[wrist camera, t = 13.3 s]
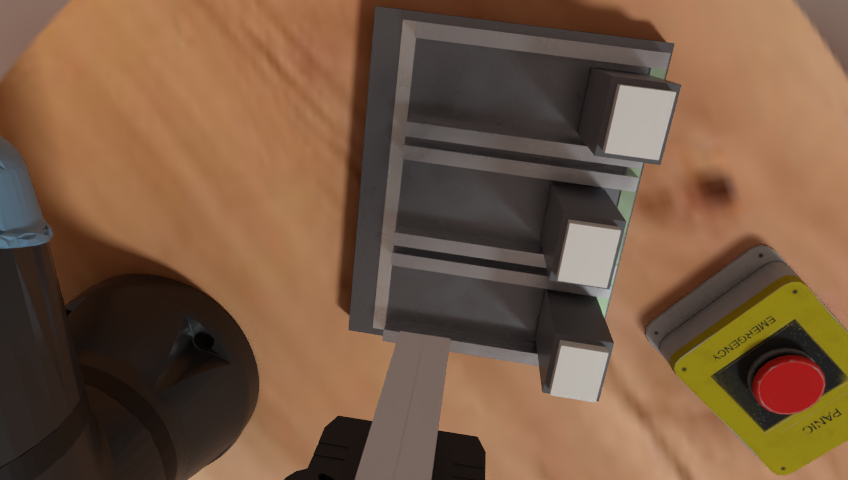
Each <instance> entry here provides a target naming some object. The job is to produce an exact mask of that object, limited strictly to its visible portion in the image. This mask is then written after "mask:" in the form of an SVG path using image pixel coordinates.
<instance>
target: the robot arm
mask: <svg viewBox="0 0 848 480" xmlns="http://www.w3.org/2000/svg"><path fill="white" fill-rule="evenodd" d="M52 237H53V233H52V228H51V226H50V224H48V223H47V222H46V221H45V220H44V218H43V215H42V212H41V209H40V206H39V203H38V200H37V196H36V193H35V190H34V187H33V184H32V181H31V178H30V174H29V171H28V168H27V165H26V163H25V161H24V159H23V157H22V155H21V154H20V152H19V151H18V150H17V149H16V147H15V146H13V145H12V144H11V143H10V142H9V141H8V140H6V139H5V138H3V137H2V136H0V480H188V479H189V478H190V477H192V476H193V475H195V474H196V473H197V472H198V471H200V470H201V469H202V468H204V467H205V466H207V465H209V464H210V463H212V462H214V461H215V460H217V459H218V458H220V457H221V456H222V455H223V454H225V453H226V452H227V451H228V450H229V449H230V448H231V446H232V445H233V444H234V443H235V442H236V440H237V439H238V438H239V436H240V434H241V433H242V431H243V430H244V428H245V426H246V425H247V423H248V422H249V420H250V418H251V416H252V414H253V412H254V410H255V407H256V403H257V399H258V393H259V376H258V369H257V364H256V361H255V357H254V355H253V352H252V350H251V347H250V345H249V343H248V341H247V339H246V338H245V336H244V334H243V333H242V331H241V330H240V328H239V327H238V325H237V324H236V323H235V322H234V321H233V319H232V318H231V317H230V316H229V315H228V314H227V313H226V312H225V311H224V310H223V309H222V308H221V307H220V306H218V305H217V304H216V303H215V302H214V301H212V300H211V299H210V298H208V297H207V296H205V295H204V294H202V293H200V292H199V291H197V290H195V289H193V288H191V287H189V286H187V285H185V284H182V283H180V282H177V281H174V280H171V279H168V278H164V277H159V276H153V275H143V274H132V275H123V276H117V277H113V278H110V279H107V280H104V281H102V282H100V283H98V284H96V285H94V286H92V287H91V288H89V289H88V290H86V291H85V292H83V293H82V294H80V295H78V296H77V297H75V298H74V299H73V300H71V301H70V302H68V303H67V304H66V305H64V302H63V298H62V294H61V290H60V286H59V282H58V278H57V274H56V269H55V265H54V261H53V257H52V253H51V249H50V245H49V241H50V240H51V238H52ZM449 346H450V338H443V337H437V336H430V335H424V334H417V333H410V332H404V331H400V333H399V336H398V339H397V343H396V346H395V349H394V352H393V356H392V359H391V362H390V365H389V369H388V372H387V375H386V379H385V382H384V385H383V388H382V392H381V395H380V398H379V402H378V405H377V408H376V411H375V415H374V418H373V421H368V420H362V419H355V418H349V417H343V416H337V417H336V418H335V419H334V420H333V421H332V422H331V423H329V424H328V425H327V426H326V427H325V428H324V431H323V433H322V436H321V438H320V440H319V444H318V445H317V447H316V450H315V452H314V455H313V457H312V459H311V462H310V464H309V467H308V468H307V469H303V470H300V471H296V472H294V473H293V474H291V475H289V476H288V477H286V478H285V479H284V480H485V453H486V452H485V450H484V448H483V446H482V445H481V443H480V441H479V439H478V437H475V436H469V435H463V434H457V433H450V432H444V431H438V427H439V420H440V412H441V405H442V397H443V390H444V383H445V375H446V368H447V361H448V353H449Z"/></svg>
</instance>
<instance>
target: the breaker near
mask: <svg viewBox="0 0 848 480" xmlns="http://www.w3.org/2000/svg"><path fill="white" fill-rule="evenodd" d="M680 88H681V85H680V84H677V83H674V82H671V81H667V80H664V79H661V78H658V77H655V76H651V75H648V74H641V73H633V72H625V71H617V70H609V69H602V68H594V67H592V68H591V72H590V77H589V82H588V87H587V92H586V96H585V101H584V106H583V111H582V116H581V120H580V125H579V130H578V135H579V136H580V138H581V139H582V140H583V141H584V143H585V144H586V145H587V147H588V148H589V149H590V151H591V152H592V153H593V154H594V156H599V157H606V158H614V159H621V160H628V161H636V162H643V163H650V164H657V165H660V164H661V160H662V157H663V153H664V149H665V145H666V141H667V137H668V134H669V130H670V126H671V122H672V118H673V114H674V111H675V107H676V103H677V99H678V95H679V91H680Z"/></svg>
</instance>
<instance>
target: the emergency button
mask: <svg viewBox="0 0 848 480" xmlns="http://www.w3.org/2000/svg"><path fill="white" fill-rule="evenodd" d="M646 337H647V338H648V340H649V342H650V343H651V344H652V345H653V346H654V347H655V348H656V349H657V350H658V351H659V352H660V353H661V355H662V356H663V357H664V358H665V359H666V360H667V362H668V363H669V364H670V366H671V368H672V370H673V371H674V372H675V373H676V375H677V376H678V377H679V378H680V379H681V380H682V381H683V382H684V383H685V384H686V385H687V386H688V387H689V388H690V389H691V390H692V391H693V392H694V393H695V394H696V395H697V396H698V397H699V398H700V399H701V400H702V401H703V402H704V403H705V404H706V405H707V406H708V407H709V408H710V409H711V410H712V411H713V412H714V413H715V414H716V415H717V416H718V417H719V418H720V419H721V420H722V421H723V422H724V424H725V425H726V426H727V427H728V428H729V429H730V430H731V431H732V432H733V433H734V434H735V435H736V436H737V437H738V438H739V439H740V440H741V441H742V442H743V443H744V444H745V445H746V446H747V447H748V448H749V449H750V450H751V451H752V452H753V453H754V454H755V455H756V456H757V457H758V458H759V459H760V460H761V461H762V462H763V463H764V464H765V465H766V466H767V467H768V468H769V469H770V470H771V471H772V472H773V473H775V474H777V475H787V474H790V473H793V472H794V471H796V470H798V469H800V468H801V467H803V466H805V465H806V464H808V463H810V462H811V461H813V460H815V459H817V458H818V457H820V456H822V455H823V454H825V453H827V452H828V451H830V450H832V449H834V448H835V447H837V446H839V445H840V444H842V443H844V442H845V441H847V440H848V331H847V330H846V329H845V328H844V327H843V326H842V324H841V323H840V322H839V321H838V320H837V319H836V318H835V317H834V315H833V314H832V313H831V312H830V311H829V310H828V309H827V308H826V307H825V305H824V304H823V303H822V302H821V301H820V300H819V299H818V298H817V297H816V295H815V294H814V293H813V292H812V291H811V290H810V289H809V288H808V287H807V285H806V284H805V283H804V282H803V281H802V280H801V279H800V278H799V277H798V276H797V275H796V273H795V272H794V271H793V270H792V269H791V268H790V267H789V266H788V265H787V263H786V262H785V261H784V260H783V259H782V258H781V257H780V256H779V255H778V253H777V252H776V251H774V250H773V249H771V248H770V247H768V246H763V245H757V246H755V247H752V248H750V249H748V250H747V251H746V252H744V253H743V254H742V255H740V256H739V257H738V258H736V259H735V260H733V261H732V262H731V263H729V264H728V265H727V266H725V267H724V268H723V269H721V270H720V271H719V272H717V273H716V274H714V275H713V276H712V277H710V278H709V279H708V280H706V281H705V282H704V283H702V284H701V285H700V286H698V287H697V288H695V289H694V290H693V291H691V292H690V293H689V294H687V295H686V296H685V297H683V298H682V299H681V300H679V301H678V302H676V303H675V304H674V305H672V306H671V307H670V308H668V309H667V310H666V311H664V312H663V313H662V314H660V315H659V316H658V317H656V318H655V319H653V320H652V321H651V322H650V323H649V324H648V326H647V327H646Z"/></svg>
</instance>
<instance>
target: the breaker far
mask: <svg viewBox="0 0 848 480" xmlns="http://www.w3.org/2000/svg"><path fill="white" fill-rule="evenodd" d="M535 339H536V347H537V354H538V362H539V370H540V377H541V385H542V392H543V393H549V394H550V395H553V396H559V397H565V398H571V399H577V400H583V401H589V402H595V403H596V401H598V402H599V398H600V394H601V390H602V386H603V382H604V379H605V375H606V371H607V367H608V363H609V359H610V356H611V352H612V348H613V344H614V342H613V340H612V337H611V334H610V332H609V329H608V326H607V324H606V321H605V318H604V316H603V313H602V310H601V308H600V305H599V302H598V300H597V297H596V296H590V295H583V294H577V293H570V292H563V291H557V290H550V289H545V294H544V299H543V303H542V308H541V313H540V318H539V323H538V327H537V332H536V337H535Z"/></svg>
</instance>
